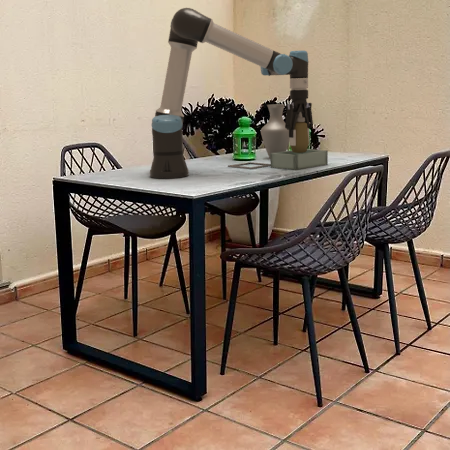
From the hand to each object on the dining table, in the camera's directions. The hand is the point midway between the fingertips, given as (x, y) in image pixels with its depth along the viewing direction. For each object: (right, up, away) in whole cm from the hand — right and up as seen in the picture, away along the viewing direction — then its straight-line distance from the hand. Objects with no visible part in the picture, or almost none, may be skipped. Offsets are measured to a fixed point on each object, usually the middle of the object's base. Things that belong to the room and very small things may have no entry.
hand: (299, 144), depth 268 cm
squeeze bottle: (0, -3, +1) cm, 3 cm away
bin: (0, -9, +2) cm, 9 cm away
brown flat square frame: (-20, -9, +6) cm, 23 cm away
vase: (-7, -3, +32) cm, 33 cm away
